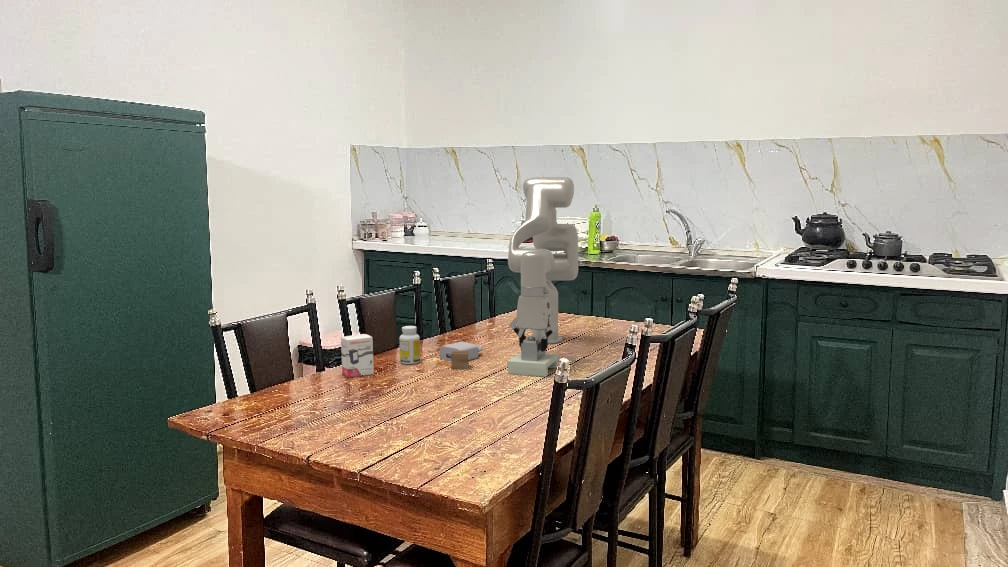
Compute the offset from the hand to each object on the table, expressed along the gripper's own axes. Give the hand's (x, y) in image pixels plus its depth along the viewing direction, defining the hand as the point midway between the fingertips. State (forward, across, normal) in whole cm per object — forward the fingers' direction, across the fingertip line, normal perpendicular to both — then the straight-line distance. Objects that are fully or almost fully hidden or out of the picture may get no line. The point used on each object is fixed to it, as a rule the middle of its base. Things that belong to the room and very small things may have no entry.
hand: (533, 349), depth 247 cm
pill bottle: (+7, +41, +3) cm, 42 cm away
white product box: (+7, +49, +22) cm, 54 cm away
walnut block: (+7, +23, +4) cm, 24 cm away
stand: (+6, 0, 0) cm, 6 cm away
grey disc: (+7, -6, -16) cm, 18 cm away
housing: (+2, 0, 0) cm, 2 cm away
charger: (+7, +27, -10) cm, 30 cm away
